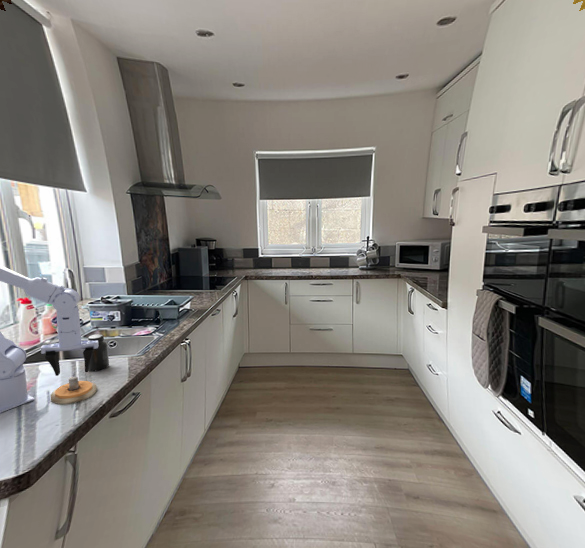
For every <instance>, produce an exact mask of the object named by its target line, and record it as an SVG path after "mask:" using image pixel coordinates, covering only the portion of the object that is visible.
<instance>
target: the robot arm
mask: <svg viewBox="0 0 585 548" xmlns="http://www.w3.org/2000/svg"><path fill="white" fill-rule="evenodd" d="M48 280H49V279H48V278H47V277H42V278H41V277H34V278H30V277H27V276H25V275H23V274H20V273H18V272H16V271H14V270H12V269H9V268H7V267H6V266H3V265H2V264H0V282H1V283H5V284H8V285H11V286H13V287H16V288H20V289H23V291H24V293H25V295H26V296H28V297H30V298H33V299H35V300H38V301H39V302H43V303H45V304H48V305H52V307H53V309H54V310H56V326H57V327H56V328H57V337H58V338H57V339H58V342H57V343H51V344H45V345H44V344H43V345H42V346H40V353H41V355H42V354H43V355H44V354H45V355H44V358H45V360H46V361H47V362H48V363H49V365H50V366H51V368H52V370H53V372H54V375H55V376H56V377H59V375H60V374H61V366H60V352H67V351H77V350H78V351H79V350H83V352H82V355H83V359H84V372H85V373H89V371H90V370H89V364H90V360H91V357H92V354H93V351H94V349H96V348H98V346H99V345H98V340H96V341H88V340H82V333H81V331H82V330H81V320H80V318H81V317H80V312H79V311H80V309H79V305H78V304H79V302H80V300H81V297H80V294H79V292H78V291H77V290H75V289H74V288H71V287H70V288H69V287H67V288H66V286H64V285H57V284H55V283H53V282H51V281H48ZM27 356H28V355H27V352H26V350H25V349H24V348H22V347H20V346H18V345H17V344H16V343H15V342H14V341H13V340H11V339H8V338H6V337H5V336H4V335H3V333H2V332H1V331H0V414H1V413H4V412H6V411H8V410H11V409H14V408H16V407H19V406H21V405H24V404H27V403H29V402H32V401H34V400H35V397H33V396H31V395H29V394H28V387H27V386H28V385H27V377H26V376H27V375H26V368H25V366H24V365H23V364H24V362H25V361H26V360H27Z"/></svg>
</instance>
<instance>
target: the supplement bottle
mask: <svg viewBox="0 0 585 548" xmlns="http://www.w3.org/2000/svg"><path fill="white" fill-rule="evenodd" d="M87 339H88V340H87V341H96V340H98V345H99V346H98V348H96V349H94V351H93V354H92V357H91V360H90V364H89V371H90V372H100V371H104V370H106V369H107V368H108V367H109V366H110V360H109V359H110V358H109V357H110V356H109V347H108V343H107V342H106V341H105V338H104V334H101V333H100V334H99V333H98V334H97V333H96V334H91V335H89V336H88V337H87Z"/></svg>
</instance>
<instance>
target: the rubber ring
mask: <svg viewBox="0 0 585 548" xmlns="http://www.w3.org/2000/svg"><path fill="white" fill-rule="evenodd" d="M92 383H93V382H92ZM92 383H91V381H89V380H78V385H79V388H80V389H78V390H74V391H68V390H69V382H68V383H65V384H63V385H60V386H59V387H58V388H56V389H55V390H54V391H55V396H56V397H58V398H68V399H69V398H74V397H78V396H81V395H83V394H86V393H88V392H89V391H90V390H91V389H92Z"/></svg>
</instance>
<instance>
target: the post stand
mask: <svg viewBox="0 0 585 548" xmlns="http://www.w3.org/2000/svg"><path fill="white" fill-rule="evenodd" d="M78 381H79V378H78V376H72V377H69V378H68V383H69V390H68V391H74V390H78V389H80V388H79V385H78ZM90 382H91V381H90ZM91 383H92V389H91V390H90V391H89V392H88V393H86V394H83V395H81V396H78V397H74V398H69V399H68V398H58V397H56V396H55V390H54V391H52V393H51V394H50V401H51V402H52V403H54V404H57V405H68V404H74V403H78V402H81V401H84V400H87V399H89V398H91V397H92V396H94V395H95V394H96V393H97V390H98V386H97V384H95V382H91Z"/></svg>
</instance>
